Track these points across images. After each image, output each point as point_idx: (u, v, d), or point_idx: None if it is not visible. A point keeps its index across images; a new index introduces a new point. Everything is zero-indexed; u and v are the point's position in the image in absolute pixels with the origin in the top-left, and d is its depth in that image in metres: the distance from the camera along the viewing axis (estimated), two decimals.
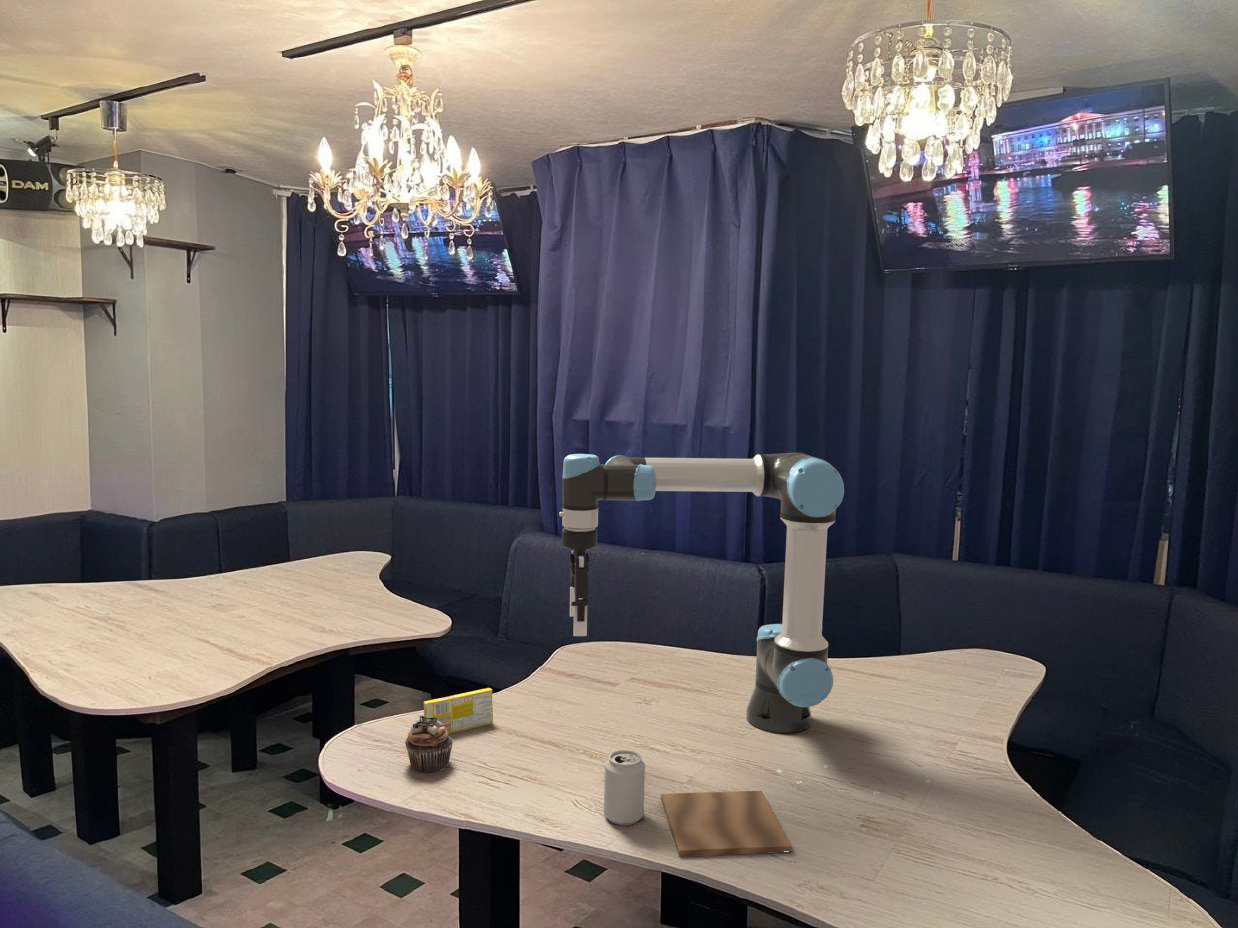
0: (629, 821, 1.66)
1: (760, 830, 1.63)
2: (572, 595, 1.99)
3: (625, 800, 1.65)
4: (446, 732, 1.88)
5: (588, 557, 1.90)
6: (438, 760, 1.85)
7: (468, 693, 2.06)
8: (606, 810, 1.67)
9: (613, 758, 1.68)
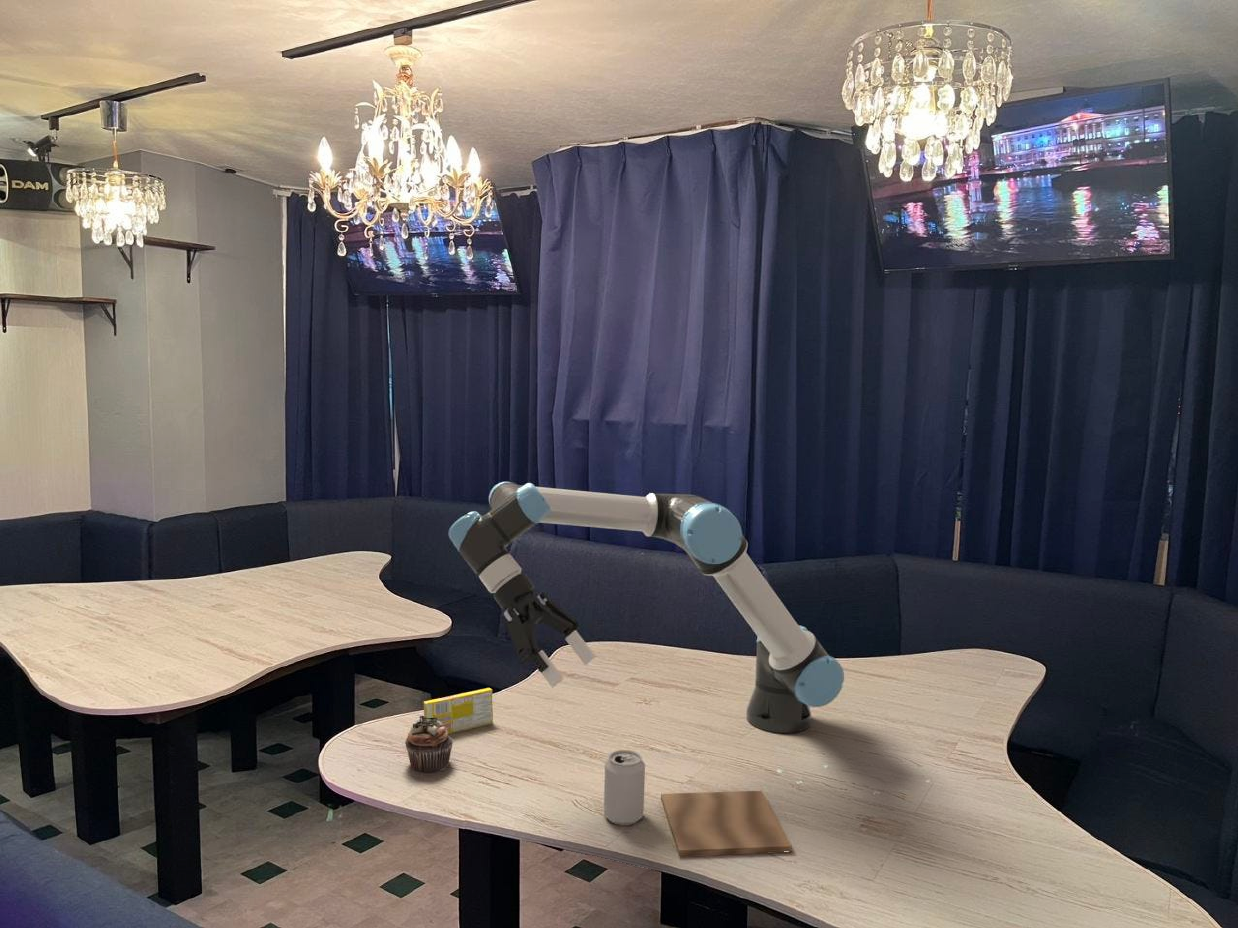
0: (629, 821, 1.66)
1: (760, 830, 1.63)
2: (572, 644, 1.78)
3: (625, 800, 1.65)
4: (446, 732, 1.88)
5: (528, 604, 1.71)
6: (438, 760, 1.85)
7: (468, 693, 2.06)
8: (606, 810, 1.67)
9: (613, 758, 1.68)
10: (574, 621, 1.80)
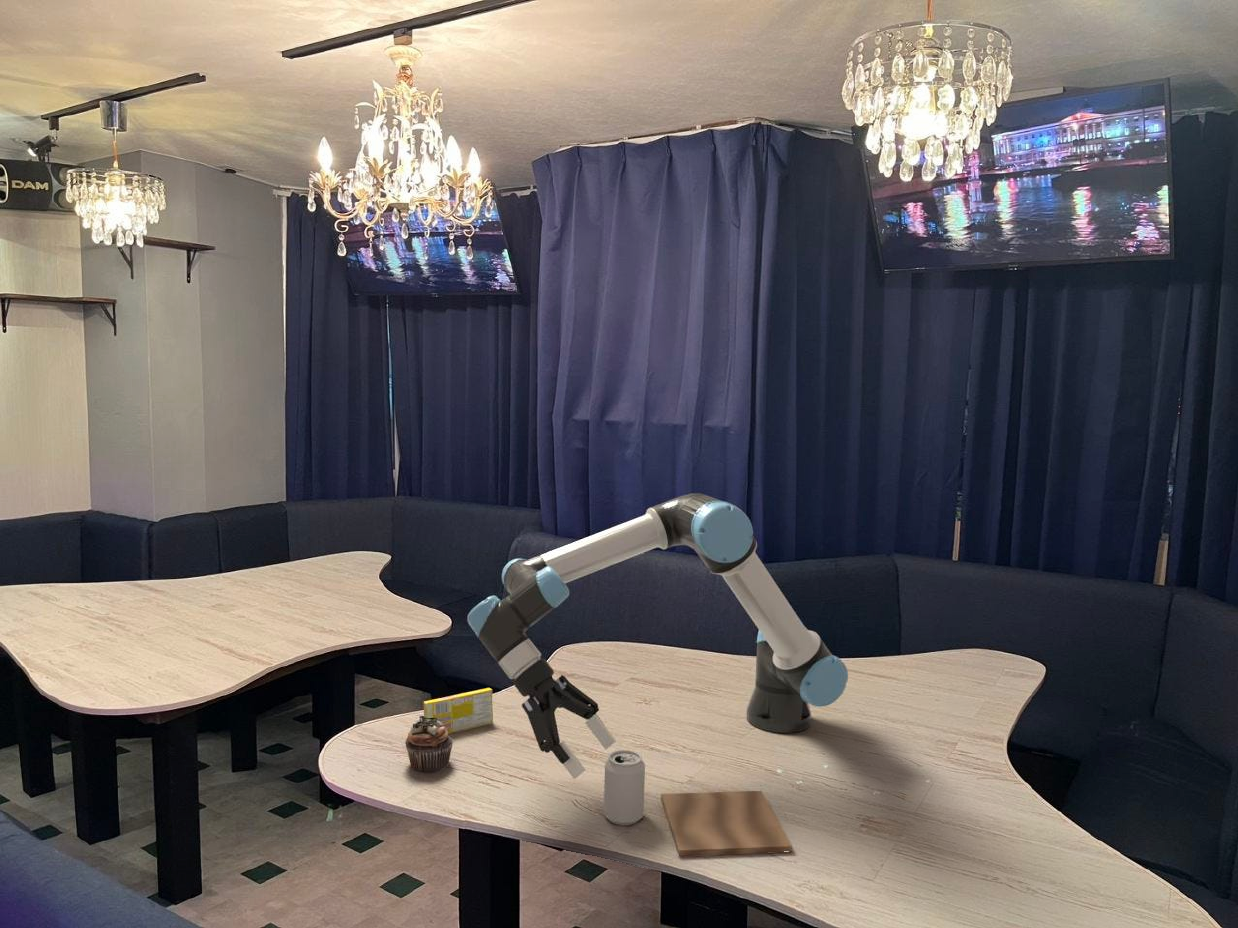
0: (629, 821, 1.66)
1: (760, 830, 1.63)
2: (592, 728, 1.77)
3: (625, 800, 1.65)
4: (446, 732, 1.88)
5: (548, 691, 1.70)
6: (438, 760, 1.85)
7: (468, 693, 2.06)
8: (606, 810, 1.67)
9: (613, 758, 1.68)
10: (594, 704, 1.79)
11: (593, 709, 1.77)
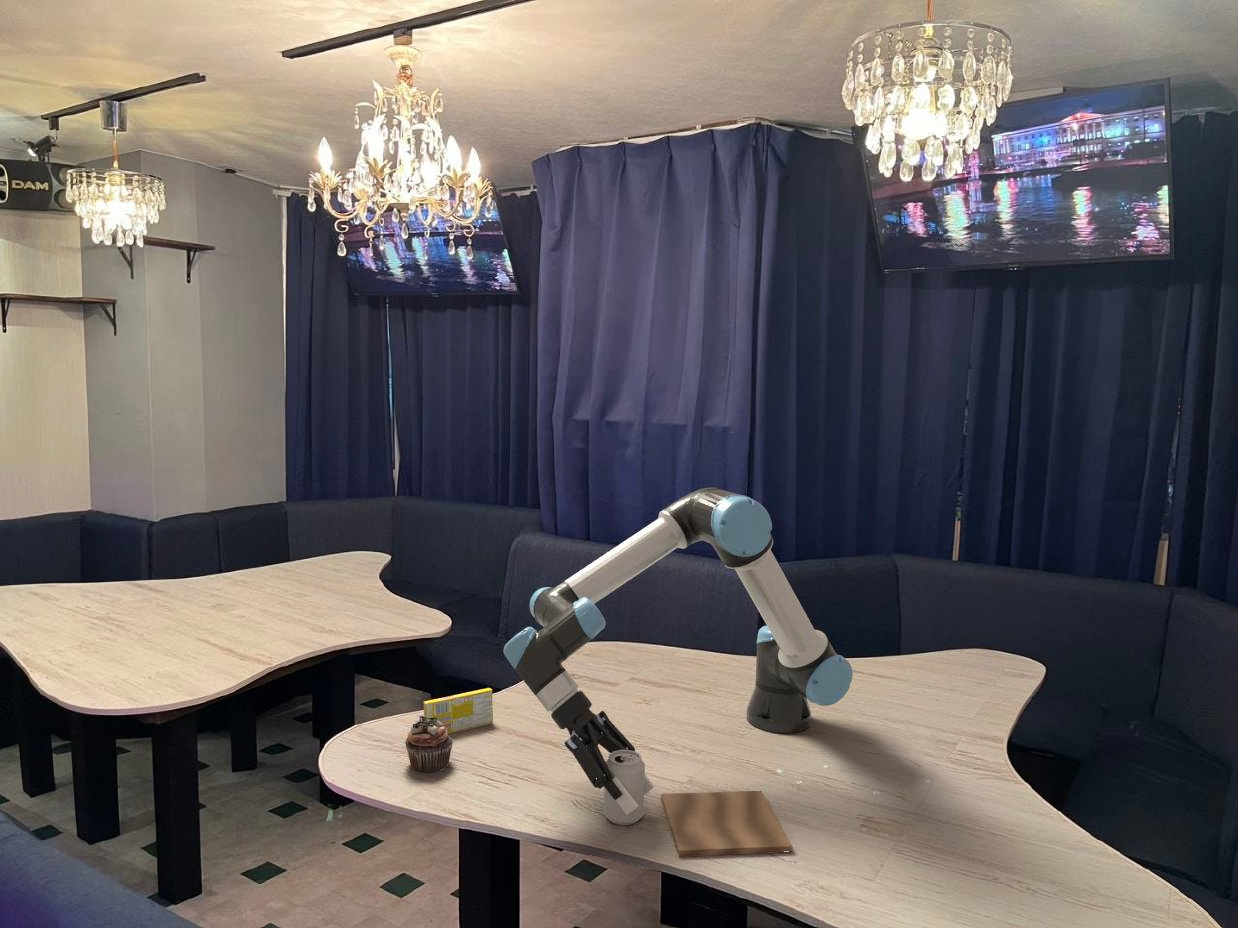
0: (629, 821, 1.66)
1: (760, 830, 1.63)
2: None
3: None
4: (446, 732, 1.88)
5: (587, 725, 1.68)
6: (438, 760, 1.85)
7: (468, 693, 2.06)
8: (606, 810, 1.67)
9: (613, 758, 1.68)
10: (630, 747, 1.75)
11: None
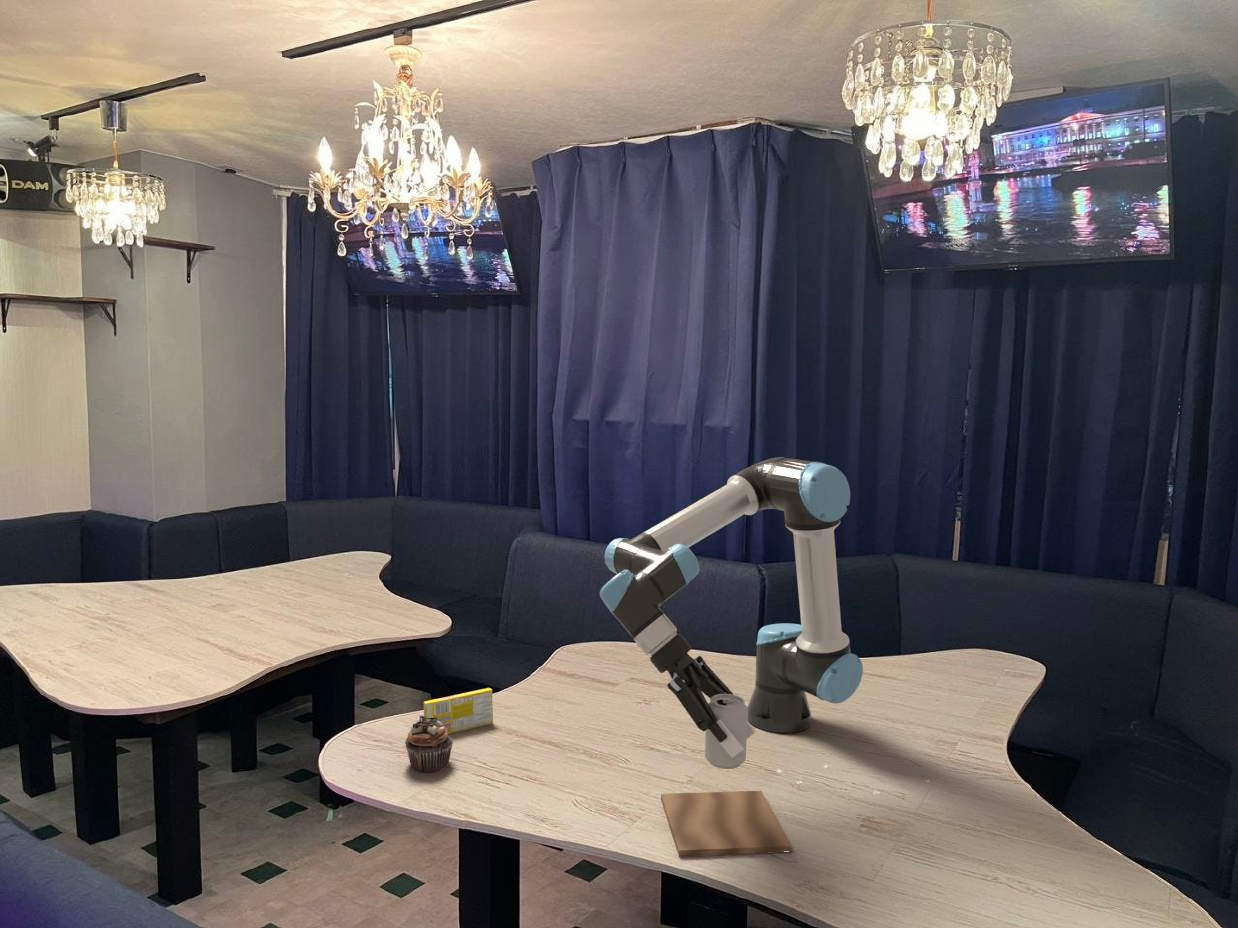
0: (733, 765, 1.62)
1: (760, 830, 1.63)
2: None
3: None
4: (446, 732, 1.88)
5: (688, 668, 1.65)
6: (438, 760, 1.85)
7: (468, 693, 2.06)
8: (708, 754, 1.64)
9: (715, 701, 1.65)
10: (729, 692, 1.71)
11: None
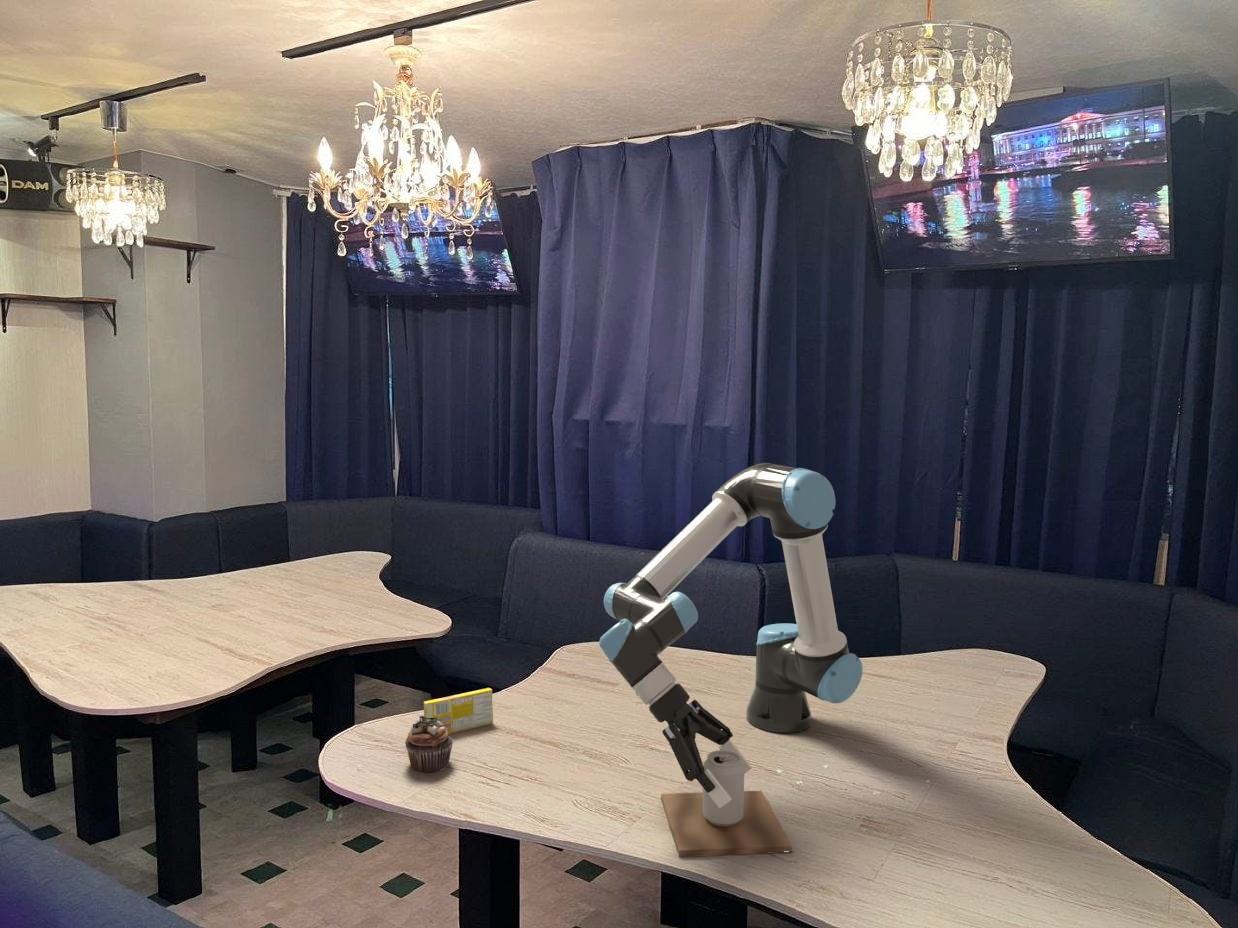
0: (730, 822, 1.64)
1: (760, 830, 1.63)
2: None
3: None
4: (446, 732, 1.88)
5: (686, 717, 1.66)
6: (438, 760, 1.85)
7: (468, 693, 2.06)
8: (706, 811, 1.65)
9: (712, 759, 1.66)
10: (726, 729, 1.75)
11: (727, 734, 1.73)
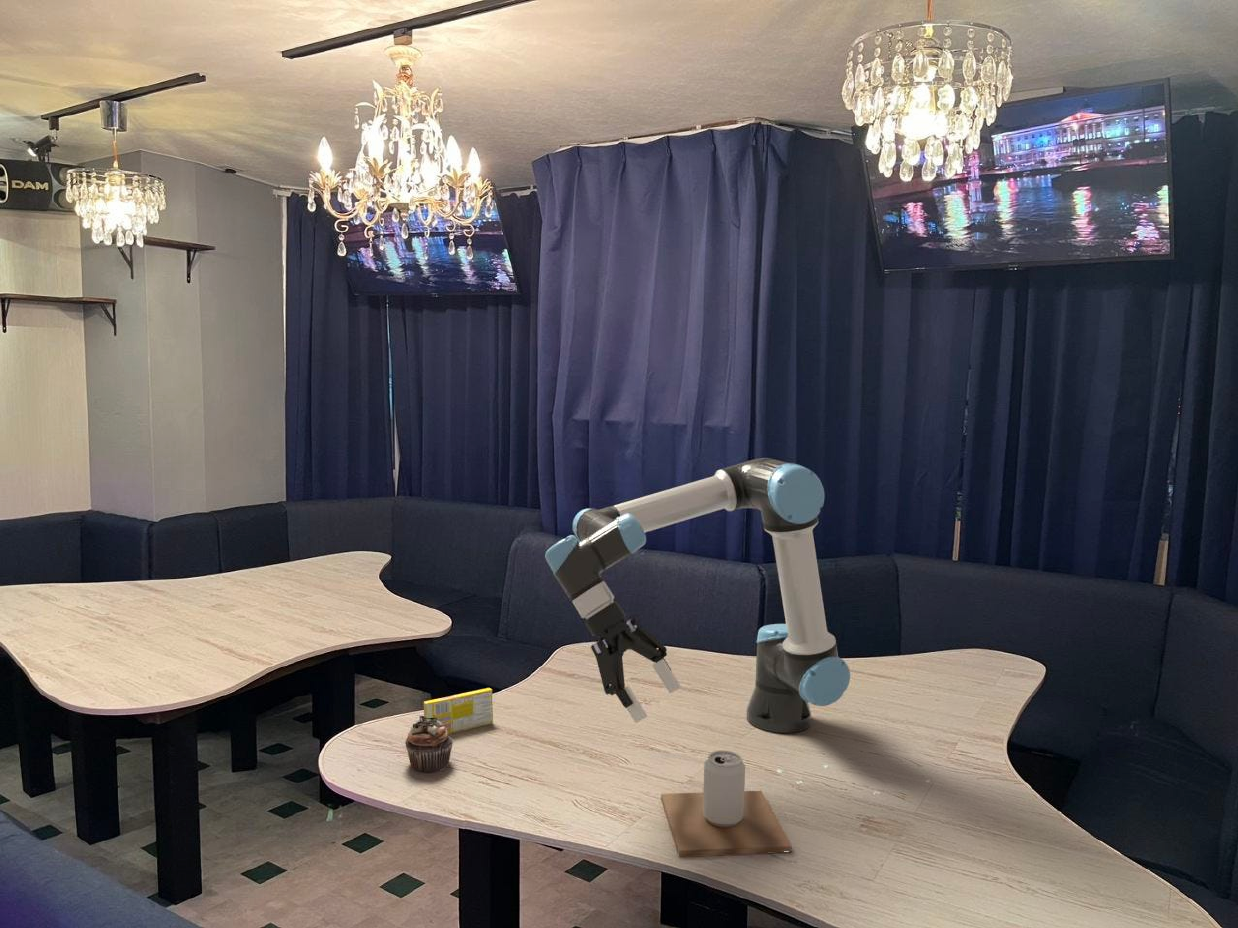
0: (730, 822, 1.64)
1: (760, 830, 1.63)
2: (658, 671, 1.80)
3: (727, 801, 1.63)
4: (446, 732, 1.88)
5: (618, 635, 1.73)
6: (438, 760, 1.85)
7: (468, 693, 2.06)
8: (706, 811, 1.65)
9: (713, 759, 1.66)
10: (662, 648, 1.82)
11: (661, 653, 1.80)
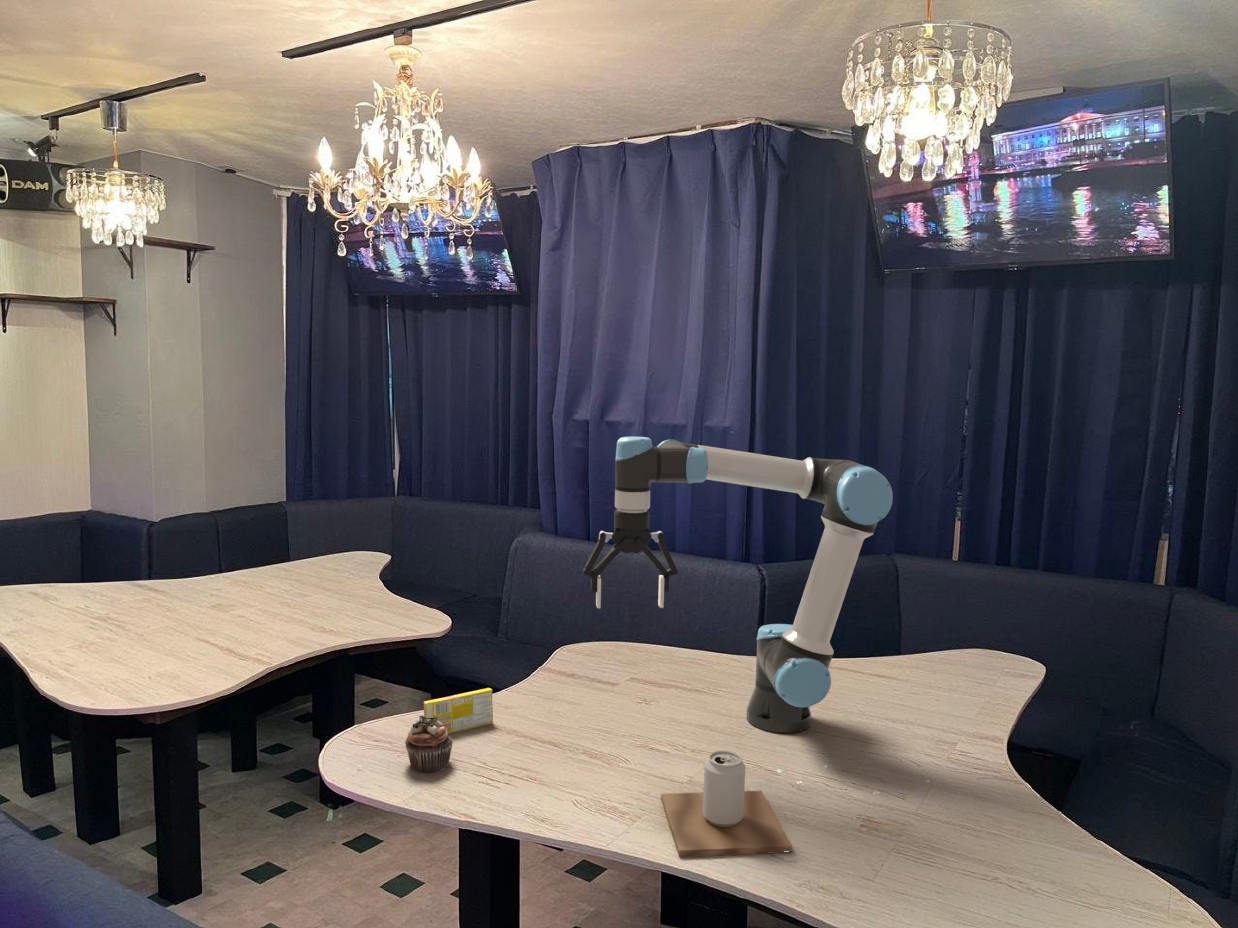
0: (730, 823, 1.64)
1: (760, 830, 1.63)
2: (659, 583, 1.96)
3: (727, 801, 1.63)
4: (446, 732, 1.88)
5: (624, 539, 1.91)
6: (438, 760, 1.85)
7: (468, 693, 2.06)
8: (706, 811, 1.65)
9: (713, 759, 1.66)
10: (673, 570, 1.94)
11: (666, 574, 1.94)
